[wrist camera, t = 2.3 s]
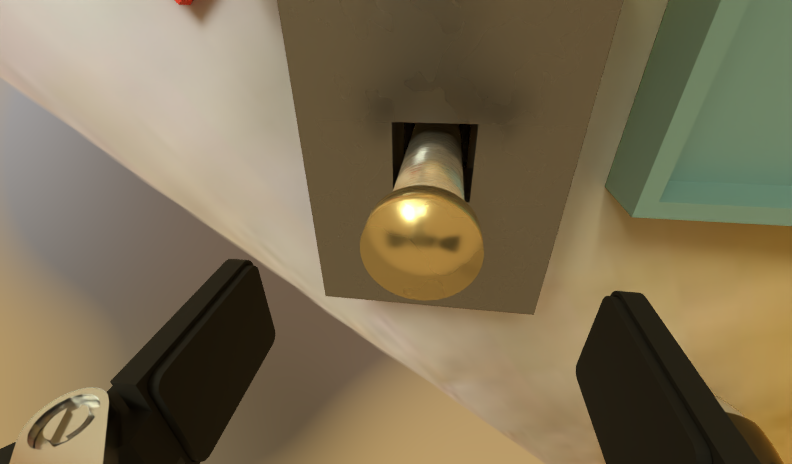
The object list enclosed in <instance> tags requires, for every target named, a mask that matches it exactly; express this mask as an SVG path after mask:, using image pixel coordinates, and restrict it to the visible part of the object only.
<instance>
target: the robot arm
mask: <svg viewBox="0 0 792 464" xmlns="http://www.w3.org/2000/svg"><path fill="white" fill-rule="evenodd" d="M274 339H275V329H274V325H273V322H272V318H271V314H270V311H269V307H268V303H267V300H266V296H265V292H264V289H263V285H262V281H261V278H260V274H259V270H258V268H257V267H256V266H253V263H252V262H251V261H249V260H239V259H228V260H227V261H225V263H223V265H222V266H221V267H220V268H219V269H218V270H217V271H216V272H215V273H214V274H213V275H212V276H211V277H210V278H209V279H208V280H207V281H206V282H205V283H204V284H203V285H202V286H201V287H200V289H199V290H198V291H197V292H196V293H195V294H194V295H193V296H192V297H191V298H190V299H189V300H188V301H187V302H186V303H185V304H184V305H183V306H182V307H181V308H180V309H179V311H178V312H177V313H176V314H175V315H174V316H173V317H172V318H171V319H170V320H169V321H168V322H167V323H166V324H165V325H164V326H163V327H162V328H161V329H160V330H159V331H158V332H157V333H156V334H155V335H154V337H152V339H151V340H150V341H149V342H148V343H147V344H146V345H145V346H144V347H143V348H142V349H141V350H140V351H139V352H138V353H137V354H136V355H135V356H134V357H133V358H132V359H131V360H130V362H129V363H128V364H127V365H126V366H125V367H124V368H123V369H122V370H121V371H120V372H119V373H118V374H117V375H116V376H115V377H114V378H113V379H112V380H111V384H112V385H113V386H112V387H111V388H110V389H109V390H108V391H107V393H106V392H105V391H104V390H103V389H99V388H83V389H79V390H76V391H72V392H70V393H68V394H66V395H63V396H61V397H59V398H57V399H56V400H54V401H53V402H51V403H49V404H48V405H46V406H45V407H43V408H42V409H41V410H40V411H39V412H38V413H36V414H35V415H34V416H33V417H32V418H31V419H30V420H29V421H28V423H27V424H26V425H25V426H24V427H23V429H22V431H21V432H20V434H19V436H18V439H17V441H16V442H14V443H12V444H10V445H8V446H6V447H4V448H1V449H0V464H200V462H202V461H205V460H206V459H207V458H208V457H209V456H210V454H211V452H212V451H213V449H214V447H215V445H216V444H217V442H218V440H219V438H220V437H221V435H222V433H223V431H224V429H225V428H226V426H227V424H228V422H229V420H230V419H231V417H232V415H233V414H234V412H235V410H236V408H237V406H238V405H239V403H240V401H241V399H242V397H243V395H244V394H245V392H246V391H247V389H248V387H249V385H250V383H251V382H252V380H253V378H254V376H255V374H256V373H257V371H258V369H259V368H260V366H261V364H262V362H263V360H264V359H265V357H266V355H267V353H268V352H269V350H270V348H271V346H272V345H273V342H274ZM576 377H577V380H578V383H579V386H580V389H581V392H582V395H583V398H584V401H585V404H586V407H587V410H588V413H589V415H590V418H591V421H592V424H593V427H594V430H595V433H596V436H597V439H598V442H599V445H600V447H601V450H602V453H603V456H604V459H605V462H606V464H761V462H760V461H759V460H758V458H757V457H756V455H755V454H754V452H753V451H752V450H751V448H750V447H749V445H748V444H747V442H746V441H745V439H744V438H743V437H742V435H741V434H740V432H739V431H738V429H737V428H736V426H735V425H734V424H733V422H732V421H731V419H730V418H729V416H728V415H727V414H726V412H725V411H724V409H723V408H722V406H721V405H720V403H719V402H718V401H717V399H716V398H715V396H714V395H713V393H712V392H711V391H710V389H709V388H708V386H707V385H706V383H705V382H704V380H703V379H702V378H701V376H700V375H699V373H698V372H697V370H696V369H695V368H694V366H693V365H692V363H691V362H690V360H689V359H688V357H687V356H686V355H685V353H684V352H683V350H682V349H681V347H680V346H679V345H678V343H677V342H676V340H675V339H674V337H673V336H672V334H671V333H670V332H669V330H668V329H667V327H666V326H665V324H664V323H663V322H662V320H661V319H660V317H659V316H658V314H657V313H656V311H655V310H654V309H653V307H652V306H651V304H650V303H649V301H648V300H647V299H646V297H645V296H644V295H643V294H641V293H635V292H623V291H614V292H613V293H612V294H611V295H610V296H605V297H604V299H603V300H602V303H601V305H600V308H599V310H598V313H597V315H596V318H595V320H594V323H593V325H592V328H591V330H590V333H589V335H588V338H587V340H586V342H585V345H584V347H583V350H582V352H581V355H580V357H579V360H578V362H577V365H576Z"/></svg>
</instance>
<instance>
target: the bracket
mask: <svg viewBox="0 0 792 464" xmlns="http://www.w3.org/2000/svg"><path fill="white" fill-rule="evenodd" d="M175 1H176V2H177V3H178V4H179V5H190V4H191V3H192V1H193V0H175Z"/></svg>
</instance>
